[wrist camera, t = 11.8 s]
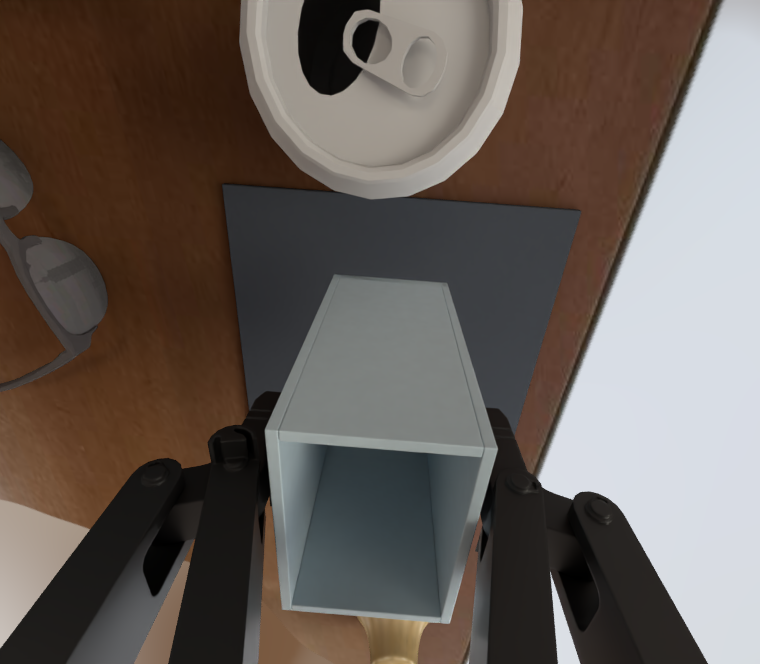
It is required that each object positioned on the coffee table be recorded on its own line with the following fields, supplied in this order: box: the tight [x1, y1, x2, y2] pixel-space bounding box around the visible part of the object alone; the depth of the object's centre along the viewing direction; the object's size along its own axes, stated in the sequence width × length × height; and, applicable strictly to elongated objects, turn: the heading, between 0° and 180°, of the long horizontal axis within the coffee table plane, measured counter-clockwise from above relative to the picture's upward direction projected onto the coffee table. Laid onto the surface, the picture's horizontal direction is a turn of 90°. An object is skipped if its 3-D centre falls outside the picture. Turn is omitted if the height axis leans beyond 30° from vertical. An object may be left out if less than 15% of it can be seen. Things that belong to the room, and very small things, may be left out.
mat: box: [222, 183, 581, 435], centre depth 26 cm, size 20×20×1 cm
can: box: [239, 0, 523, 199], centre depth 14 cm, size 8×8×12 cm
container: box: [265, 274, 498, 624], centre depth 14 cm, size 5×7×10 cm
